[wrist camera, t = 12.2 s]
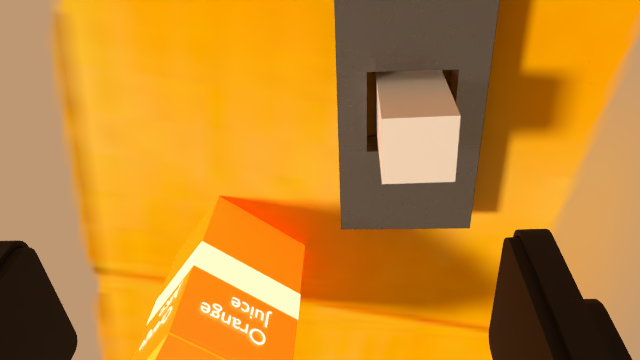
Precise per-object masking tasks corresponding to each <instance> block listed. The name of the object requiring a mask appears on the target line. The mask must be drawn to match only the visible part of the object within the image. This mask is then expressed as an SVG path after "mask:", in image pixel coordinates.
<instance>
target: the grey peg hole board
mask: <svg viewBox="0 0 640 360" xmlns="http://www.w3.org/2000/svg"><path fill="white" fill-rule="evenodd" d="M499 1H500V0H334V8H335V40H336V73H337V105H338V138H339V171H340V203H341V229H435V228H470V221H471V214H472V206H473V198H474V191H475V183H476V176H477V168H478V160H479V153H480V145H481V138H482V130H483V122H484V115H485V107H486V100H487V92H488V84H489V77H490V69H491V62H492V54H493V46H494V39H495V31H496V24H497V16H498V8H499ZM421 70H452V72H451V83H450V91H451V94H452V96H453V98H454V101H455V103H456V106H457V108H458V110H459V113H460V115H461V117H460V129H459V142H458V154H457V166H456V178H455V182H435V183H404V184H382V180H381V170H380V160H379V150H378V140H377V135H367V72H384V71H421Z"/></svg>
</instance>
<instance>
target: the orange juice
mask: <svg viewBox="0 0 640 360" xmlns="http://www.w3.org/2000/svg"><path fill="white" fill-rule="evenodd" d="M304 252H305V245H304V244H302V243H300V242H298V241H297V240H295V239H293V238H291V237H290V236H288V235H286V234H285V233H283V232H281V231H279V230H278V229H276V228H274V227H272V226H271V225H269V224H267V223H265V222H264V221H262V220H260V219H259V218H257V217H255V216H253V215H252V214H250V213H248V212H246V211H245V210H243V209H241V208H239V207H238V206H236V205H234V204H233V203H231V202H229V201H227V200H226V199H224V198H222V197H220V196H219V197H218V198H217V199H216V201H215V202H214V203H213V205H212V206H211V207H210V209H209V210H208V211H207V213H206V214H205V215H204V217H203V218H202V219H201V221H200V222H199V223H198V225H197V226H196V228H195V229H194V230H193V232H192V233H191V234H190V236H189V237H188V238H187V240H186V241H185V242H184V244H183V245H182V246H181V248H180V249H179V250H178V252H177V255H176V257H175V259H174V262H173V264H172V267H171V269H170V271H169V274H168V276H167V279H166V281H165V283H164V286H163V288H162V290H161V293H160V295H159V298H158V299H157V301H156V303H155V306H154V308H153V310H152V313H151V315H150V317H149V320H148V322H147V326H146V329H145V331H144V333H143V336H142V338H141V341H140V343H139V345H138V348H137V350H136V353H135V355H134V357H133V360H293V355H294V346H295V336H296V327H297V320H298V315H299V306H300V296H301V294H300V289H301V280H302V271H303V261H304Z"/></svg>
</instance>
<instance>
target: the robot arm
mask: <svg viewBox="0 0 640 360" xmlns="http://www.w3.org/2000/svg"><path fill="white" fill-rule="evenodd" d="M489 345H490V350H491V354H492V358H493V360H632V358H631V357H630V355H629V353H628V351H627V349H626V347H625V345H624V343H623V341H622V339H621V337H620V335H619V333H618V331H617V330H616V328H615V326H614V324H613V322H612V320H611V318H610V316H609V314H608V312H607V310H606V309H605V307H604V306H603V304H602V303H601V302H600V301H598V300H597V299H583V297H582V295H581V293H580V291H579V290H578V287H577V285H576V283H575V281H574V279H573V277H572V275H571V273H570V271H569V269H568V267H567V265H566V262H565V260H564V258H563V256H562V254H561V252H560V250H559V248H558V246H557V244H556V242H555V240H554V237H553V235H552V234H551V232H550V231H549V230H548V229H525V230H516V231H515V233H514V236H513V237H510V238H505V239H504V243H503V249H502V255H501V261H500V267H499V273H498V279H497V285H496V291H495V297H494V303H493V309H492V316H491V322H490V328H489ZM76 347H77V335H76V332H75V330H74V328H73V326H72V324H71V322H70V320H69V318H68V316H67V314H66V312H65V310H64V308H63V306H62V304H61V302H60V300H59V298H58V296H57V294H56V292H55V290H54V288H53V286H52V284H51V282H50V280H49V278H48V276H47V274H46V272H45V270H44V268H43V266H42V264H41V262H40V260H39V258H38V255H37V253H36V252H35V250H34V249H32V248H29V247H28V245H27V244H26V243H24V242H23V241H0V360H71V358H72V356H73V355H74V353H75V350H76Z"/></svg>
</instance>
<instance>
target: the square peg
mask: <svg viewBox="0 0 640 360" xmlns="http://www.w3.org/2000/svg"><path fill="white" fill-rule="evenodd" d="M460 117H461V115H460V113H459V110H458V108H457V106H456V103H455V101H454V98H453V96H452V94H451V91H450V89H449V86H448V84H447V82H446V79H445V77H444V74H443V72H442V70H421V71H384V72H376V130H377V140H378V150H379V160H380V170H381V180H382V184H404V183H435V182H455V178H456V166H457V154H458V142H459V129H460Z"/></svg>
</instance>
